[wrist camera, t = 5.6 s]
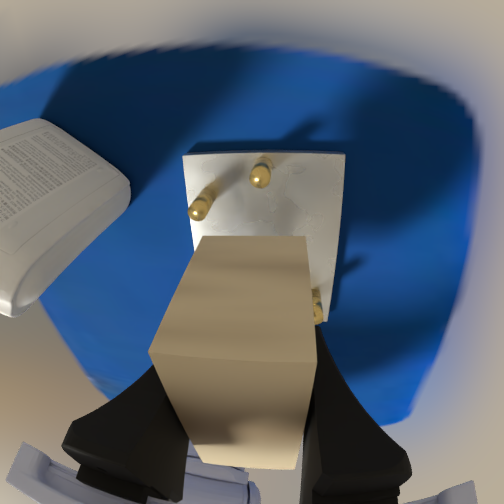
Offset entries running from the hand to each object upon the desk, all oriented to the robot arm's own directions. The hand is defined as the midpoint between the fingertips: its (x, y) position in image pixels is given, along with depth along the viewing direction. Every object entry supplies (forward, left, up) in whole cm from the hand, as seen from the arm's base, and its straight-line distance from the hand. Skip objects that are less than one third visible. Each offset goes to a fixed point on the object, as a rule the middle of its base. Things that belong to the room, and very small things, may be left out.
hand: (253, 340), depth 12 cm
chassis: (0, 0, -8) cm, 8 cm away
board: (0, 0, -2) cm, 2 cm away
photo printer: (+6, +13, -9) cm, 17 cm away
